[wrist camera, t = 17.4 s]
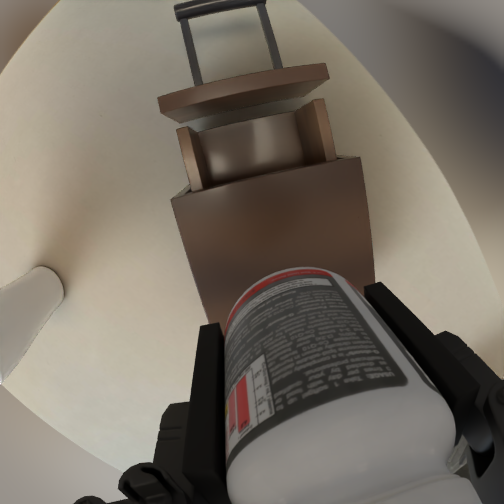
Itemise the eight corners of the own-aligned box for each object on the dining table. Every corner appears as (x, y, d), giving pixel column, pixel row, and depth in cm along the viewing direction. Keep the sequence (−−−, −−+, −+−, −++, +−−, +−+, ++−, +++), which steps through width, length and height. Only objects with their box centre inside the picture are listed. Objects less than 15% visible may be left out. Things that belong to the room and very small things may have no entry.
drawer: (159, 33, 23) (137, -1, 15) (279, 8, 22) (294, -31, 15) (213, 251, 30) (207, 286, 22) (329, 224, 29) (360, 248, 22)
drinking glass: (21, 257, 29) (-61, 316, 15) (66, 259, 30) (-16, 329, 15) (32, 308, 31) (-35, 379, 17) (75, 314, 32) (12, 398, 18)
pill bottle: (207, 365, 13) (197, 603, 3) (252, 241, 11) (327, 564, 2) (327, 389, 13) (394, 579, 4) (385, 285, 12) (549, 471, 2)
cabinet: (189, 183, 28) (169, 199, 19) (320, 153, 28) (360, 156, 19) (228, 319, 33) (228, 378, 24) (342, 291, 33) (377, 339, 24)
